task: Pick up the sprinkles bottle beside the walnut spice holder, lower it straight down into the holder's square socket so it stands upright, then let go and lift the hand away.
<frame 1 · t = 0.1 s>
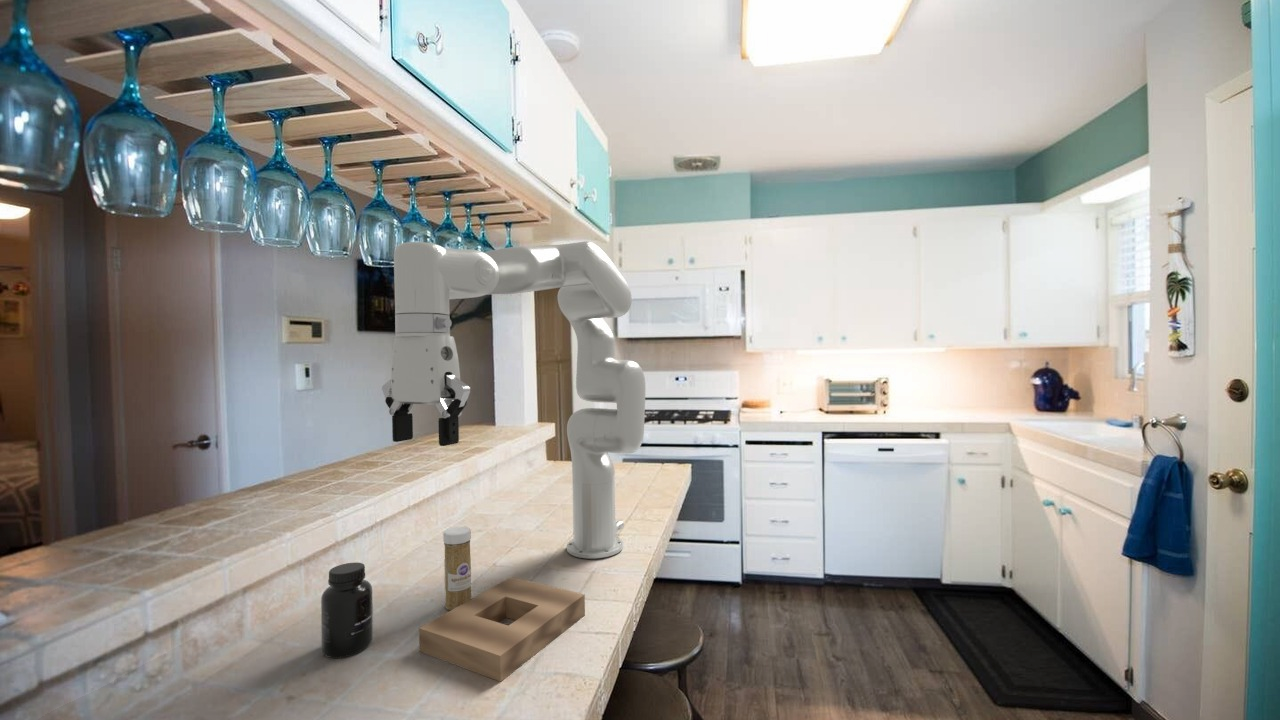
hand: (425, 442, 78), 31 cm above the counter, tool pointing down, fingers open, 9 cm apart
supplement bottle: (348, 647, 80), on the counter
sprinkles bottle: (458, 606, 92), on the counter
spice holder: (507, 632, 83), on the counter
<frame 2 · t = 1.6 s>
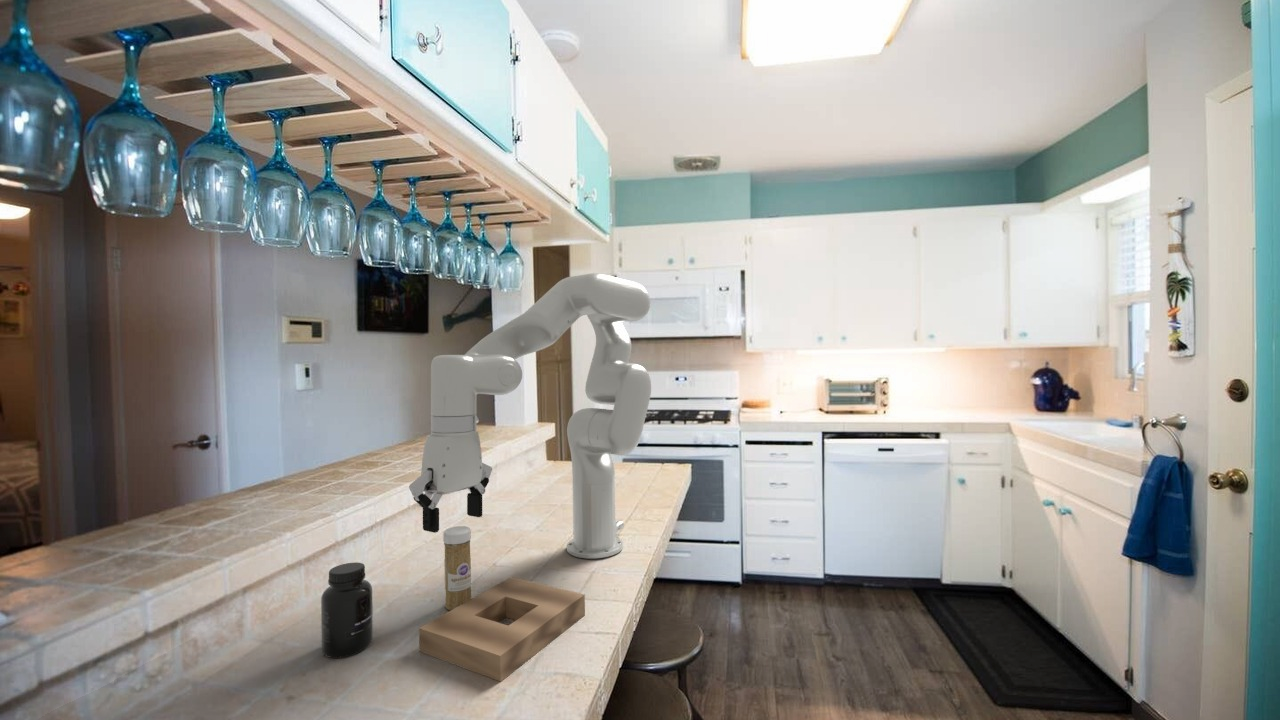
hand: (453, 523, 92), 15 cm above the counter, tool pointing down, fingers open, 9 cm apart
nothing on the counter moved.
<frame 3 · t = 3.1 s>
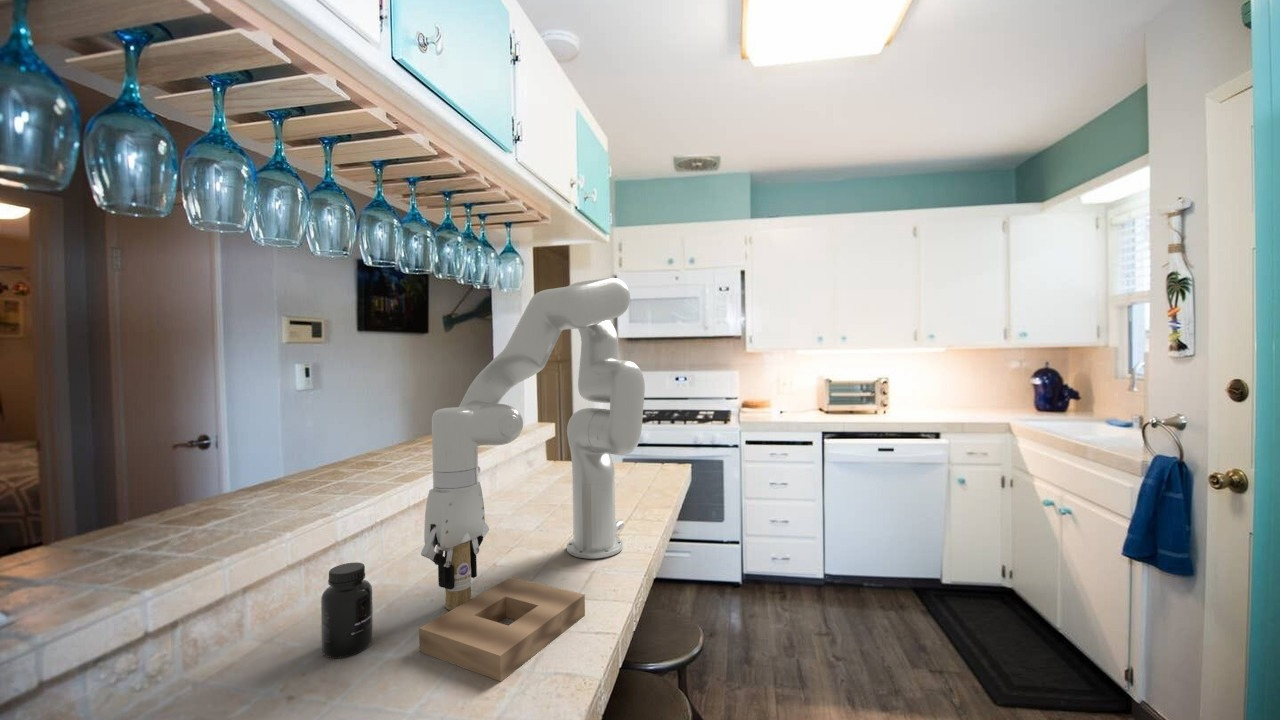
hand: (458, 580, 92), 4 cm above the counter, tool pointing down, fingers closed on sprinkles bottle, 4 cm apart
sprinkles bottle: (458, 606, 92), on the counter, touching gripper
everything else where it was.
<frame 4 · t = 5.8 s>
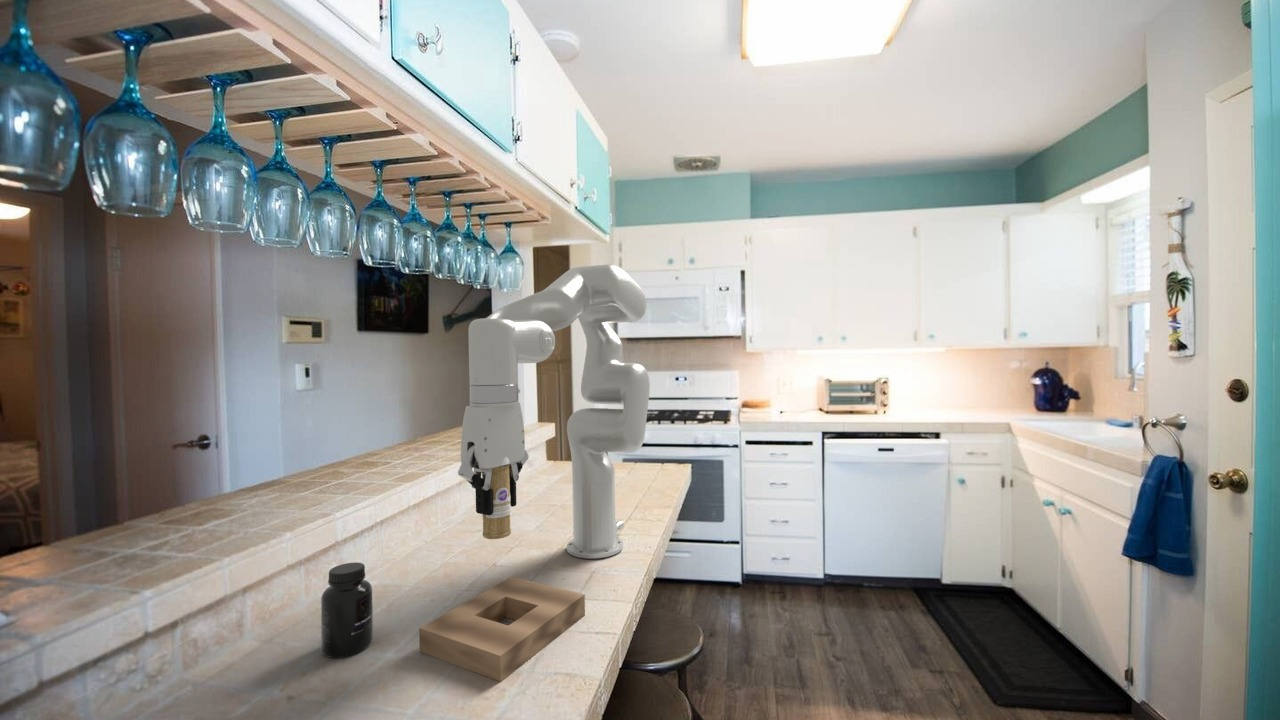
hand: (496, 508, 84), 19 cm above the counter, tool pointing down, fingers closed on sprinkles bottle, 4 cm apart
sprinkles bottle: (497, 536, 84), point 15 cm above the counter, touching gripper
everything else where it was.
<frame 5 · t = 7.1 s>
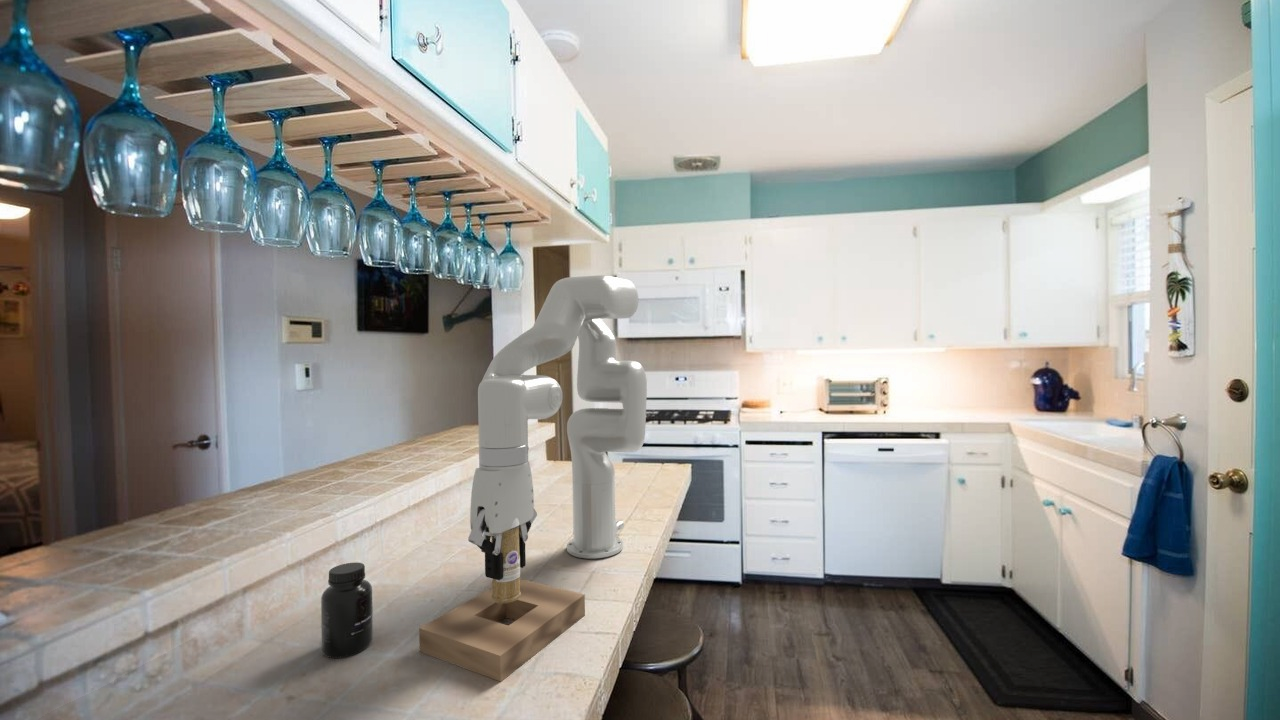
hand: (505, 570, 83), 10 cm above the counter, tool pointing down, fingers closed on sprinkles bottle, 4 cm apart
sprinkles bottle: (506, 599, 83), point 5 cm above the counter, touching gripper
everything else where it was.
when the fingers open (6 cm above the counter, at t = 8.3 s): sprinkles bottle drops 1 cm, resting in spice holder.
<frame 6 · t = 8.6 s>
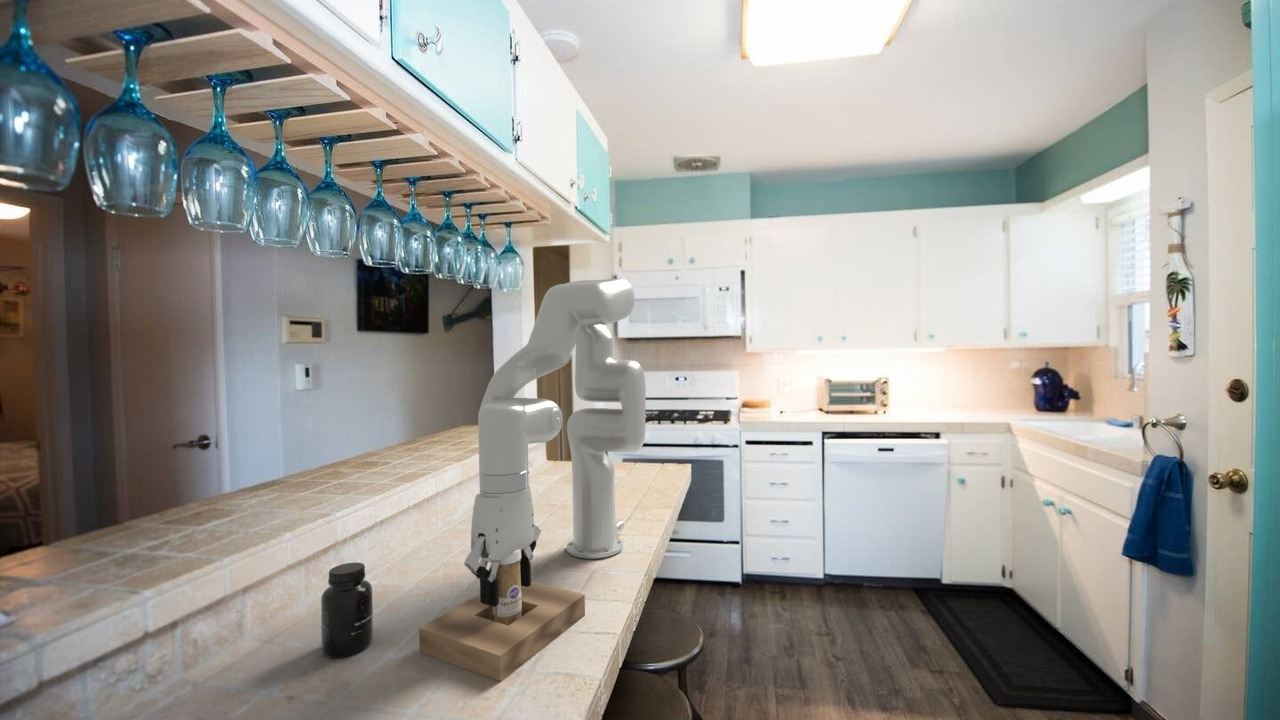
hand: (506, 593, 83), 6 cm above the counter, tool pointing down, fingers open, 6 cm apart
sprinkles bottle: (508, 632, 83), resting in spice holder
everything else where it was.
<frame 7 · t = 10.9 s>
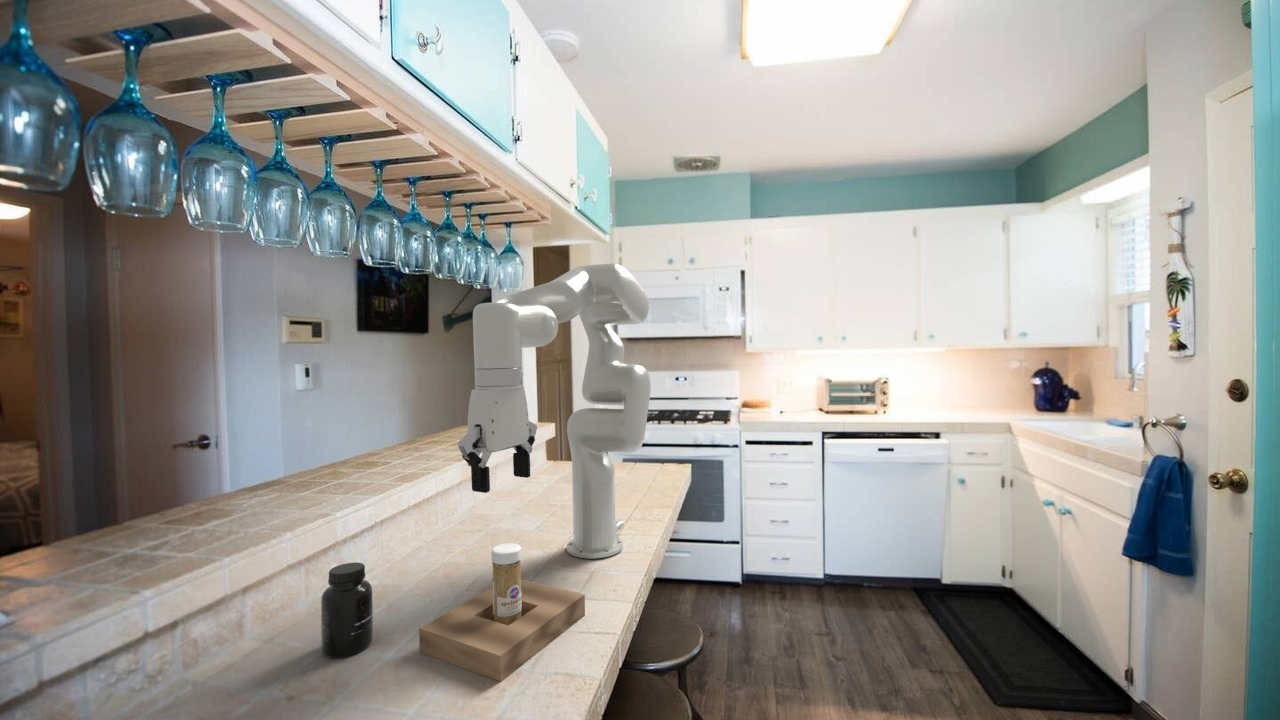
hand: (502, 483, 86), 23 cm above the counter, tool pointing down, fingers open, 9 cm apart
nothing on the counter moved.
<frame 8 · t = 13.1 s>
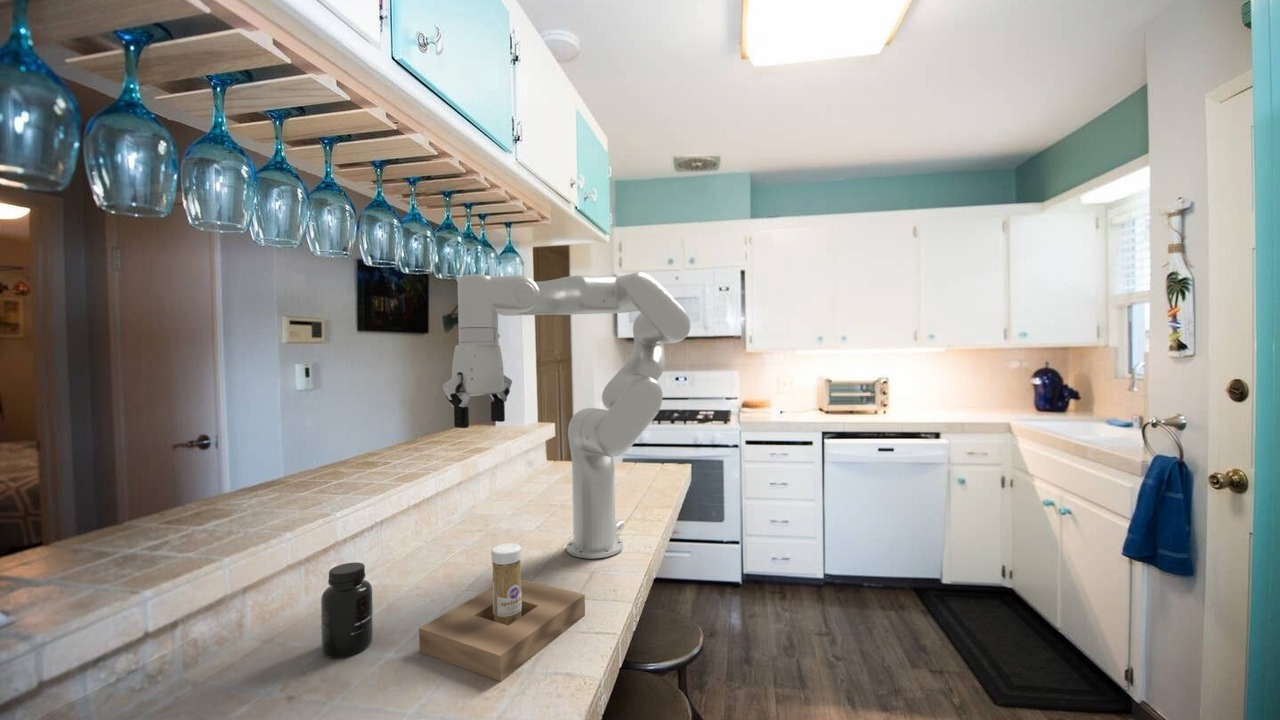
hand: (480, 424, 104), 30 cm above the counter, tool pointing down, fingers open, 9 cm apart
nothing on the counter moved.
at the end: sprinkles bottle 0.2 cm off-centre on the spice holder, point 0.0 cm above the spice holder's base; sprinkles bottle tilted 0°; the gripper is holding nothing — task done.
